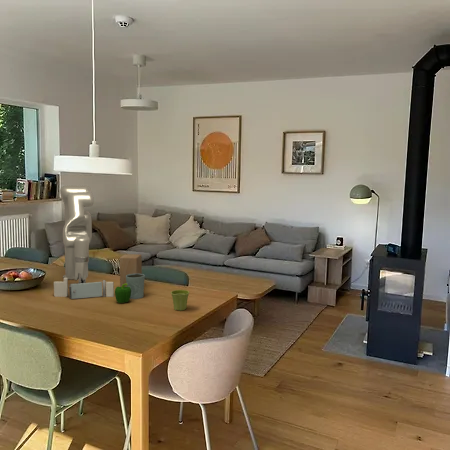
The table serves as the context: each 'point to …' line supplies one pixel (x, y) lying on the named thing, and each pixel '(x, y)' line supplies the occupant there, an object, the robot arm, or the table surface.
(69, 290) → the dark grey block
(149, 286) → the table surface
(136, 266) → the wooden block
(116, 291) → the bell pepper
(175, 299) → the plant pot
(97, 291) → the door
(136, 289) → the grey blue cup
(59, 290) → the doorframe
